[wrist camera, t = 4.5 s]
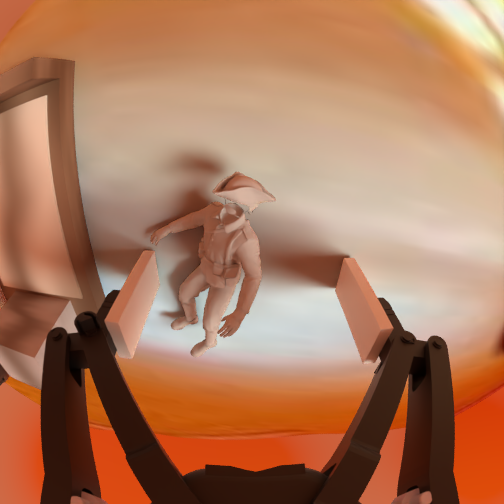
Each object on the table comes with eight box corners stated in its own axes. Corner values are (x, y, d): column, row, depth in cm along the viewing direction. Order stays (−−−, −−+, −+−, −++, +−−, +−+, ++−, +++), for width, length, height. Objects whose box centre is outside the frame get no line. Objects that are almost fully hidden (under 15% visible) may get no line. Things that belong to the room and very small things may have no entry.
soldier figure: (149, 297, 20) (131, 159, 11) (199, 270, 23) (215, 138, 14) (209, 378, 17) (234, 277, 8) (260, 341, 20) (326, 223, 11)
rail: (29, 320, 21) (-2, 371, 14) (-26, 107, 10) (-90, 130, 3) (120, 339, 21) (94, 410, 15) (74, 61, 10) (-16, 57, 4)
